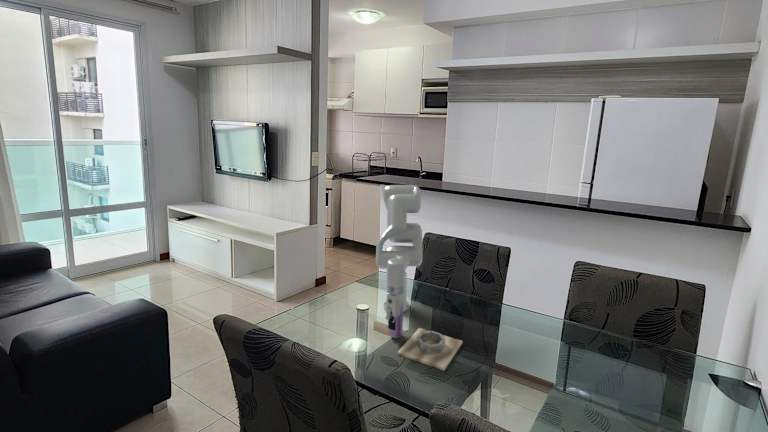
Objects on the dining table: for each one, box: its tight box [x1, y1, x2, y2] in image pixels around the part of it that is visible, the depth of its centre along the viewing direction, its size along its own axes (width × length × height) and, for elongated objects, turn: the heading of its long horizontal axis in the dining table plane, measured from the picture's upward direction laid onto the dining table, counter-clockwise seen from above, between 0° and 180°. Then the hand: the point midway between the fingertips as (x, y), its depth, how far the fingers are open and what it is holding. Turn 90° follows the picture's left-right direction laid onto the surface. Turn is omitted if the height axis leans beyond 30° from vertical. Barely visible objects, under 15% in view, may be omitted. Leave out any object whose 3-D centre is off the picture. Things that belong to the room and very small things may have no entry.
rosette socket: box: [397, 327, 464, 371], centre depth 169 cm, size 20×20×5 cm
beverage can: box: [388, 306, 404, 339], centre depth 175 cm, size 6×6×15 cm
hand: (395, 324), depth 176 cm, fingers closed on beverage can, 5 cm apart
